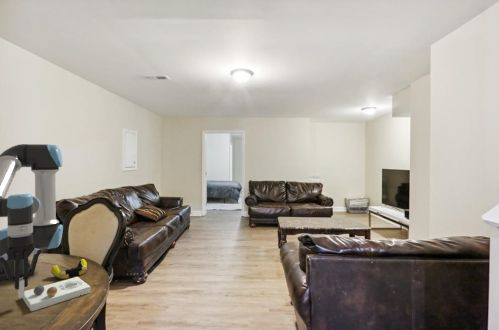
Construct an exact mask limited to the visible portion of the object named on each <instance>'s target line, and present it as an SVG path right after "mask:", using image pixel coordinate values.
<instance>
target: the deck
mask: <svg viewBox="0 0 499 330" xmlns="http://www.w3.org/2000/svg"><path fill="white" fill-rule="evenodd" d="M42 286H43V287H44V292H43V293H42V294H40V295H36V294H35V293H34V289H35V288H32V289H27V290H24V297H22V298H21V299H22V300H23V301H24V303H25V304H26V306H27V307H28V309H29V311H30V312H34V311H38V310H40V309H43V308H47V307H50V306H52V305H56V304H60V303H62V302H66V301H68V300H72V299H74V298H78V297H81V296H84V295H87V294H90V293H91V290H92V289H91V286H90V285H89V284H88V283H87V282H85V281H84V280H82V279H81V278H80V276H74V277H70V278H66V279H63V280H60V281H57V282H53V283H50V284H45V285H42ZM50 287H56V288H57V293H56V294H55V295H54V296H48V295H47V290H48V289H49V288H50ZM80 295H81V296H80Z"/></svg>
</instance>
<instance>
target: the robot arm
mask: <svg viewBox="0 0 499 330" xmlns="http://www.w3.org/2000/svg"><path fill="white" fill-rule="evenodd" d="M61 167H63V157H62V152H61V148H60V147H59V146H58V145H55V144H49V143H48V144H47V143H46V144H45V143H43V144H39V143H38V144H37V143H36V144H32V143H31V144H30V143H29V144H27V143H21V144H16V145H14V146H13V145H12V146H10V147H9V148H7V149H6V150H4V151H3V152H1V153H0V218H6V217H7V227H6V228H3V229H0V281H2V280H8V281H9V282H12V281H13V282H14V283H13V284H14V285H13V286H14V289H15V291H16V290H17V296H18V298H19V299H23V298H22V297H24V291H25V288H27V287H28V286H29V278H30V277H33V276H34V275H35V271H36V268H37V263H38V261H39V257H40V256H41V253H43V251H42V250H50V249H56V248H58V247H59V246H60V244H61V242H62V238H63V233H64V232H63V231H64V225H63V224H60V221H59V220H58V219H57V216H56V215H57V214H56V213H57V212H56V211H57V209H56V207H57V206H56V204H57V203H56V198H57V196H56V195H57V193H56V173H58V171H60V168H61ZM21 168H30V171H31V172H32V173H34V194H35V195H34V196H33V195H32V194H31V193H19V194H17V193H16V194H11V195H9V196H8V197H6V196H7V194H8V191H9V190H10V186H11V185H12V182H13V180H14V178H15V177H16V174H17V172H18V171H19V170H21ZM33 215H35V217H34V216H33ZM34 219H35V221H34ZM32 253H33V256H32V260H31V261H30V259H29V257H30V256H31V255H32ZM20 277H21V278H20Z"/></svg>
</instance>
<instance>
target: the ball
mask: <svg viewBox="0 0 499 330" xmlns="http://www.w3.org/2000/svg"><path fill="white" fill-rule="evenodd" d="M43 286H44V285H37V286H35V289H34V288H33V289H34V293H35V294H36V295H40V294H42V293H43V292H44V287H43Z"/></svg>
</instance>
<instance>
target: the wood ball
mask: <svg viewBox="0 0 499 330" xmlns="http://www.w3.org/2000/svg"><path fill="white" fill-rule="evenodd" d="M56 293H57V288H56V287H50V288H49V289H48V290H47V295H48V296H54V295H55V294H56Z"/></svg>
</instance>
